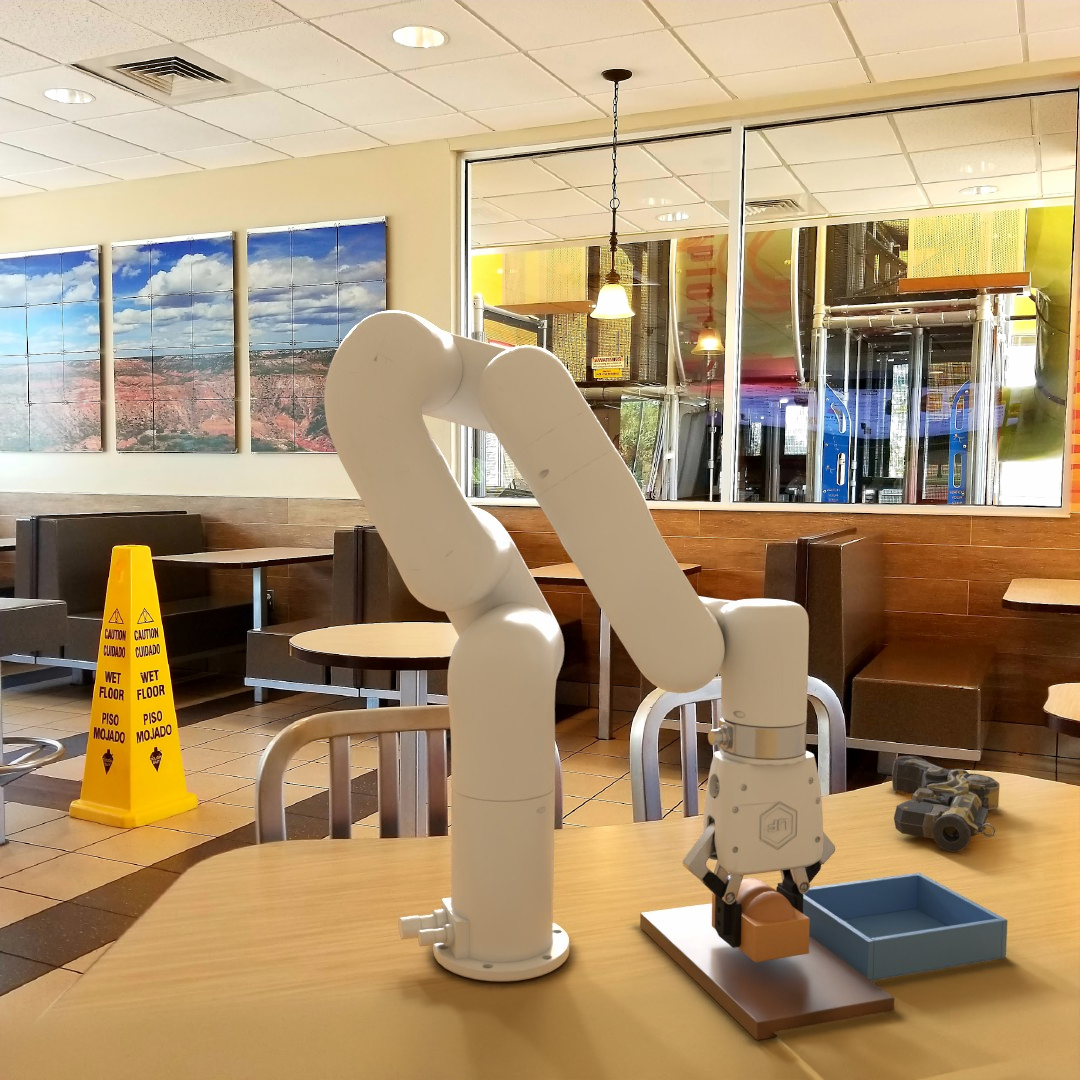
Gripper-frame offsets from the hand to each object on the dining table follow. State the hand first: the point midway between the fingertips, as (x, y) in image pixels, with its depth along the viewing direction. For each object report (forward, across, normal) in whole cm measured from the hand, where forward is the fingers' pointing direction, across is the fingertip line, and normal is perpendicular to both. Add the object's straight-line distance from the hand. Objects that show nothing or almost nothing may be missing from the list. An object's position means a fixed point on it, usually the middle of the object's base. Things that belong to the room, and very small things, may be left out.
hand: (758, 934), depth 97 cm
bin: (+3, +15, 0) cm, 15 cm away
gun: (+3, +45, +30) cm, 54 cm away
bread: (0, 0, 0) cm, 0 cm away
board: (+3, 0, 0) cm, 3 cm away
